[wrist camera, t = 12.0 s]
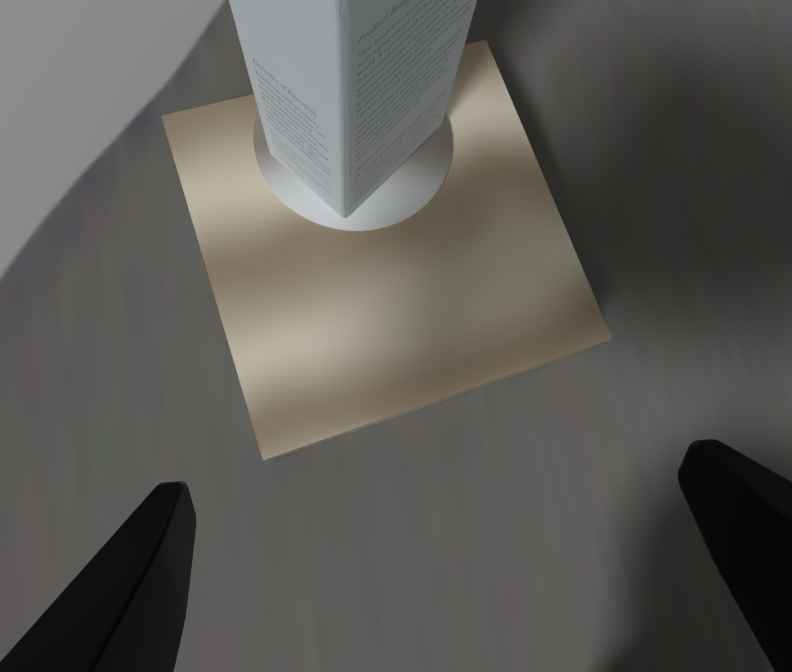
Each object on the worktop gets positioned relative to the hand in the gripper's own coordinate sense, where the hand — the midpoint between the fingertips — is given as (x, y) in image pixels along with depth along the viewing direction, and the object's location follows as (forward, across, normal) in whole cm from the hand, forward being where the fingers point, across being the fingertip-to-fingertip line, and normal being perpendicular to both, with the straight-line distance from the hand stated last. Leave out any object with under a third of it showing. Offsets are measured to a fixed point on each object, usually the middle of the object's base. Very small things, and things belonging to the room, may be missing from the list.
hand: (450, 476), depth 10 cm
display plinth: (+16, 0, +3) cm, 16 cm away
